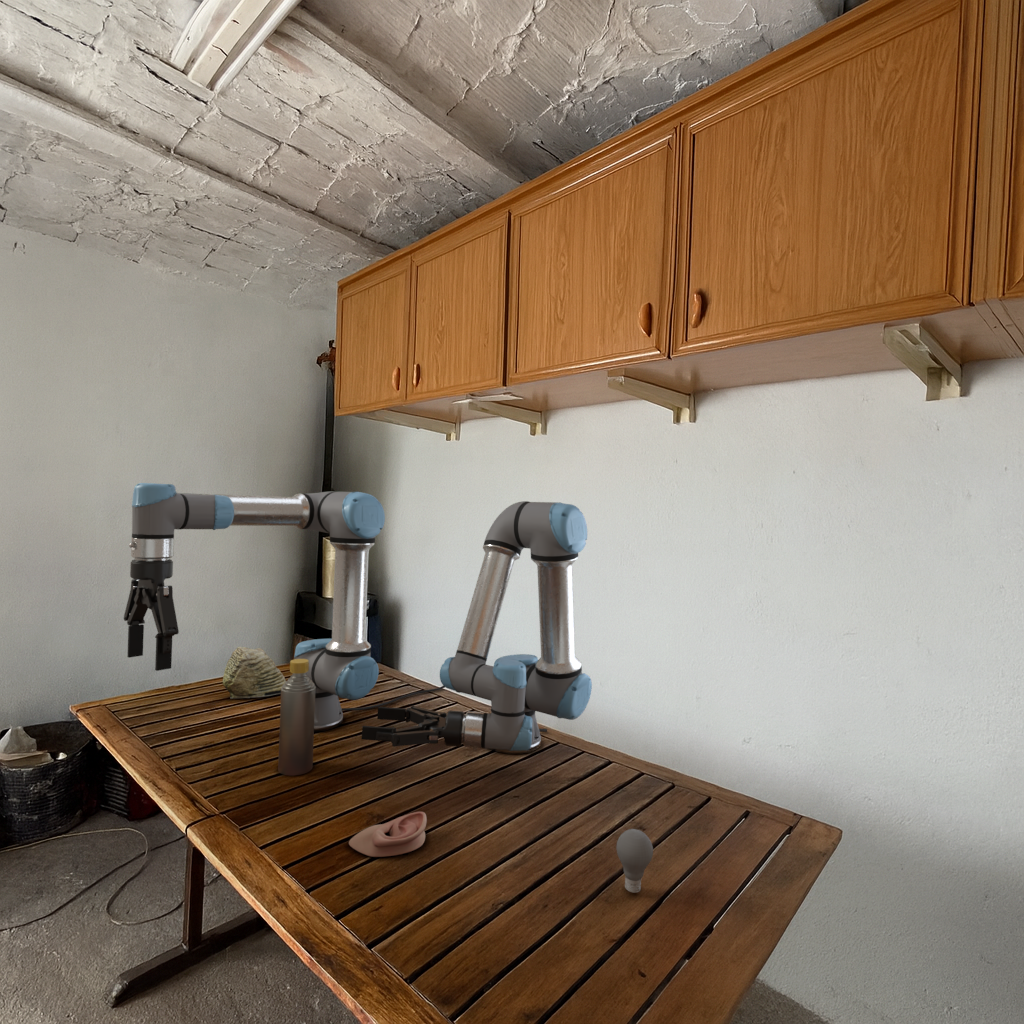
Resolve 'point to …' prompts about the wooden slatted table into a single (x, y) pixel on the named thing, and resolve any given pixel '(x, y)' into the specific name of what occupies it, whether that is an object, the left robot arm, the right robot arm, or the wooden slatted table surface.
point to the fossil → (252, 674)
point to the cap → (299, 666)
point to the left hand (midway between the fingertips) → (148, 662)
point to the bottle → (296, 725)
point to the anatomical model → (392, 836)
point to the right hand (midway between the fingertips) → (370, 722)
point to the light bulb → (634, 857)
